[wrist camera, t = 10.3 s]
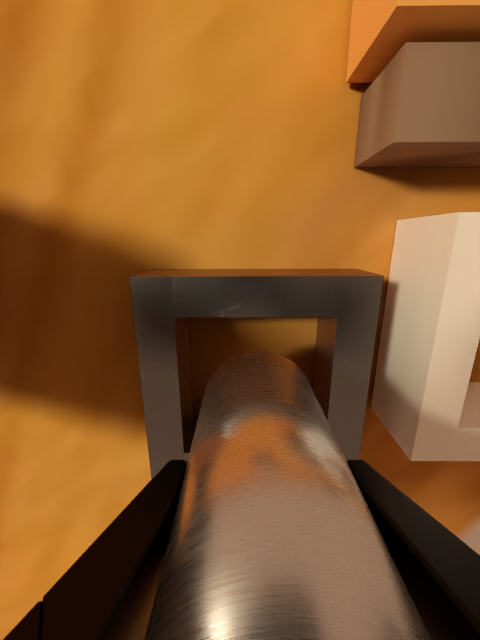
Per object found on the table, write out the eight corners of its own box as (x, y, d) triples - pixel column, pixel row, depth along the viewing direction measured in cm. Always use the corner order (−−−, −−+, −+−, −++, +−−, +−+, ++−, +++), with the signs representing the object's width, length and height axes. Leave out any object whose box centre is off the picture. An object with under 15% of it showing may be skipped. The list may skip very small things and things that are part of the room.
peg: (206, 446, 11) (123, 929, 3) (201, 350, 10) (64, 738, 2) (308, 446, 11) (467, 932, 3) (315, 350, 10) (577, 742, 2)
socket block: (166, 442, 15) (151, 481, 12) (150, 269, 12) (129, 276, 10) (337, 441, 15) (355, 481, 12) (355, 268, 12) (383, 275, 10)
